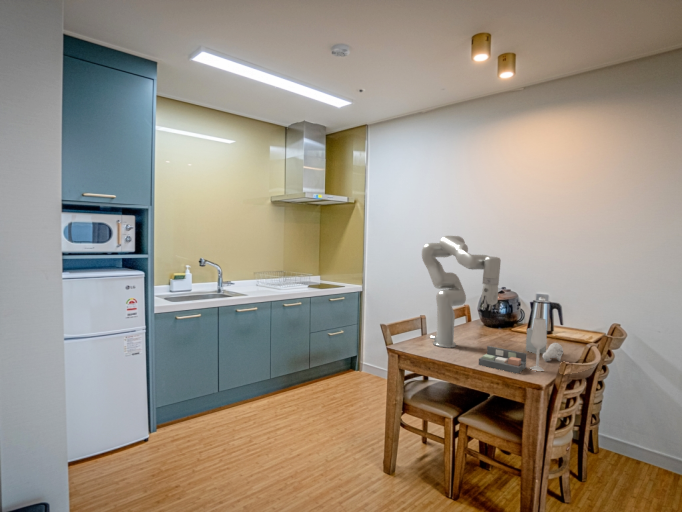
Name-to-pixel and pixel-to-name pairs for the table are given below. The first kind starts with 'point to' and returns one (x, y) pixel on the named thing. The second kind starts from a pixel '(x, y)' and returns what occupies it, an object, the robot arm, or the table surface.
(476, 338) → the table surface
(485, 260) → the robot arm
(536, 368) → the champagne flute
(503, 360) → the off-white key
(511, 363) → the terracotta key
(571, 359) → the table surface
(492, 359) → the sage key
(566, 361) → the table surface
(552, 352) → the white animal figurine
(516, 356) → the keypad
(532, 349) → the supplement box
